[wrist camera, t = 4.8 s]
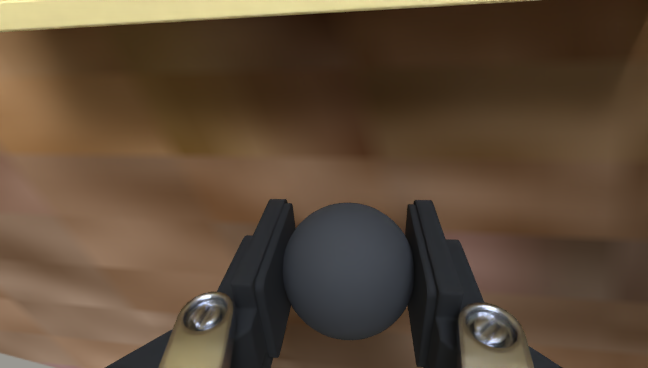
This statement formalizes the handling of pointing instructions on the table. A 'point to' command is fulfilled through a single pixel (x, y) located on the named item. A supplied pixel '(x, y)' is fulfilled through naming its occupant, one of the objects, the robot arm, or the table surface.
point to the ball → (348, 271)
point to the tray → (182, 10)
